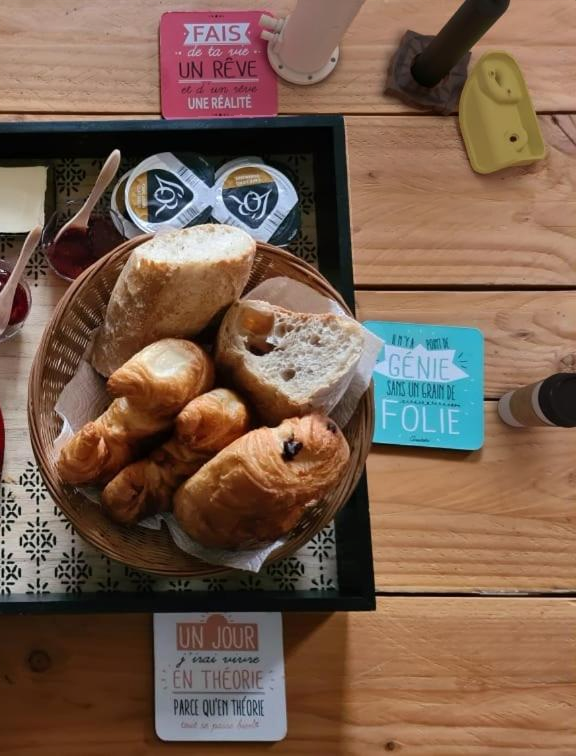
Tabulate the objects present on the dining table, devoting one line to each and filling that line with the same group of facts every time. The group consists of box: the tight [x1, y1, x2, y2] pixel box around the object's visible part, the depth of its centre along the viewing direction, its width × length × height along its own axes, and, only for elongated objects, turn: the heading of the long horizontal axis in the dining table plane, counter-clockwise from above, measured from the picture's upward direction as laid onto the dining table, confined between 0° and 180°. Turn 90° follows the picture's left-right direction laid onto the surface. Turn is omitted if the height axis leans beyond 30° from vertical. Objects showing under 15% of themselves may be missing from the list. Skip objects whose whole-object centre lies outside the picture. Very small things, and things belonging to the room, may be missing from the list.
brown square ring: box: [382, 29, 473, 117], centre depth 130 cm, size 13×13×2 cm
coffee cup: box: [497, 371, 576, 429], centre depth 115 cm, size 8×8×15 cm
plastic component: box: [458, 49, 547, 175], centre depth 128 cm, size 20×7×10 cm
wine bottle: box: [410, 0, 511, 88], centre depth 116 cm, size 6×6×30 cm
